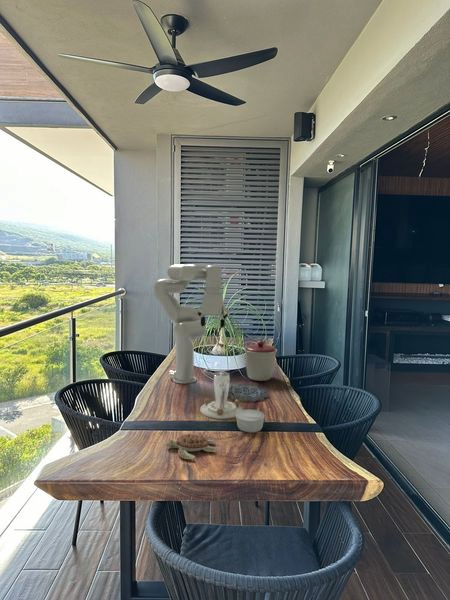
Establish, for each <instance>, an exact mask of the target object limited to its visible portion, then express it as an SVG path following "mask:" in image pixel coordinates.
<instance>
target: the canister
mask: <svg viewBox="0 0 450 600" xmlns="http://www.w3.org/2000/svg"><path fill="white" fill-rule="evenodd" d="M243 351H244V354H245V365H246V375H247V377H248V378H249V379H250V380H252V381H258V382H264V381H269V380H270V379H271V378H272V376H273V373H274V367H275V360H276V354H277V352H278V349H277V348H275V347H274V346H272V345H268V344H265V342H264V341H263V340H259V341H257V343H256V344H250V345H247V346H246V347H244V348H243Z"/></svg>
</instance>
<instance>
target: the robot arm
mask: <svg viewBox="0 0 450 600" xmlns="http://www.w3.org/2000/svg"><path fill="white" fill-rule="evenodd" d="M222 271H223V270H222V266H221V265H213V264H212V265H211V264H190V263H184V264H183V263H181V264H180V263H179V264H177V263H176V264H172V265H170V266H169V267H168V268H167V271H166V273H167V276H168V278H161V279H158V280H157V281H155V283H154V287H153V288H154V295H155V297H156V299H157V301H158V302H159V303H160V304H161V306H162V308H163V309H164V311H165V313H166V315H167V317H168V318H169V320H170V322H171V323H172V324H174V325H175V326H174V328H173V332H174V337H175V339H174V341H175V371H174V370H169V371H168V372H169V375H168V376H173V377H172V381H173V382H174V383H176V384H193V383H194V382H196V381H197V377H196V376H194V375H195V374H194V369H195V368H194V367H195V366H194V365H195V347H194V345H193V343H192V341H191V340H195V339H196V340H197V339H201V338H203V337H205V336H206V333H207V327H206V326H207V325H206V316H219V318H220V323H219V328H220V329H223V328H224V327H225V325H226V322H225V320H226V319H227V318H228V317H229V315H230V313H231V310H230V309H228V307H225V304H224V297H223V293H222V276H223V275H222V274H223V273H222ZM192 281H205V287H204V288H202V292H204V293H203V296H202V301H201V305H200V306H199V307H196V308H195V307H193V306H191V305H190V306H189V305H186V306H183V305H181V304H180V303H179V301H178V300H177V299H176V297H174V296H173V295H172V294H175V295H176V294H182V293H184V292H185V291H186V289H187V288H188V286H190V285H189V284H190V283H191V282H192ZM224 312H225V313H224Z"/></svg>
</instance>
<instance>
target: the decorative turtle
mask: <svg viewBox="0 0 450 600" xmlns="http://www.w3.org/2000/svg"><path fill="white" fill-rule="evenodd" d="M215 442H216V440H215V439H211V438H207V437H204V436H202V435H200V434H196V433H185V434H182V435H180V436H178V437H177V438H176V439H170V440H168V441H167V442H166V446H167V448H170V449H178V450H177V452H178V455H179V456H180V457H181V458H182V459H185V460H194V459H196V456H195V455H193V454H192V453H191V454H190V453H189V452H199V451H202V450H203V451H204V452H209V453H210V452H215V451H216V449H217V448H216V447H214V446H210V443H215Z"/></svg>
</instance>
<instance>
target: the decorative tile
mask: <svg viewBox="0 0 450 600" xmlns="http://www.w3.org/2000/svg"><path fill="white" fill-rule="evenodd" d="M268 394H269V393H268V392H267V389H266V388H262V387H261V386H260V385H259V386H258V385H257V386H256V385H255V386H253V385H252V384H246V385H244V384H239V385H230V388H229V394H228V398H230V399H231V400H232V401H235V400H239V401H240V403H244V402H250V403H255V402H257V401H264V399H265V398H268V397H269V396H268Z"/></svg>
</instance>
